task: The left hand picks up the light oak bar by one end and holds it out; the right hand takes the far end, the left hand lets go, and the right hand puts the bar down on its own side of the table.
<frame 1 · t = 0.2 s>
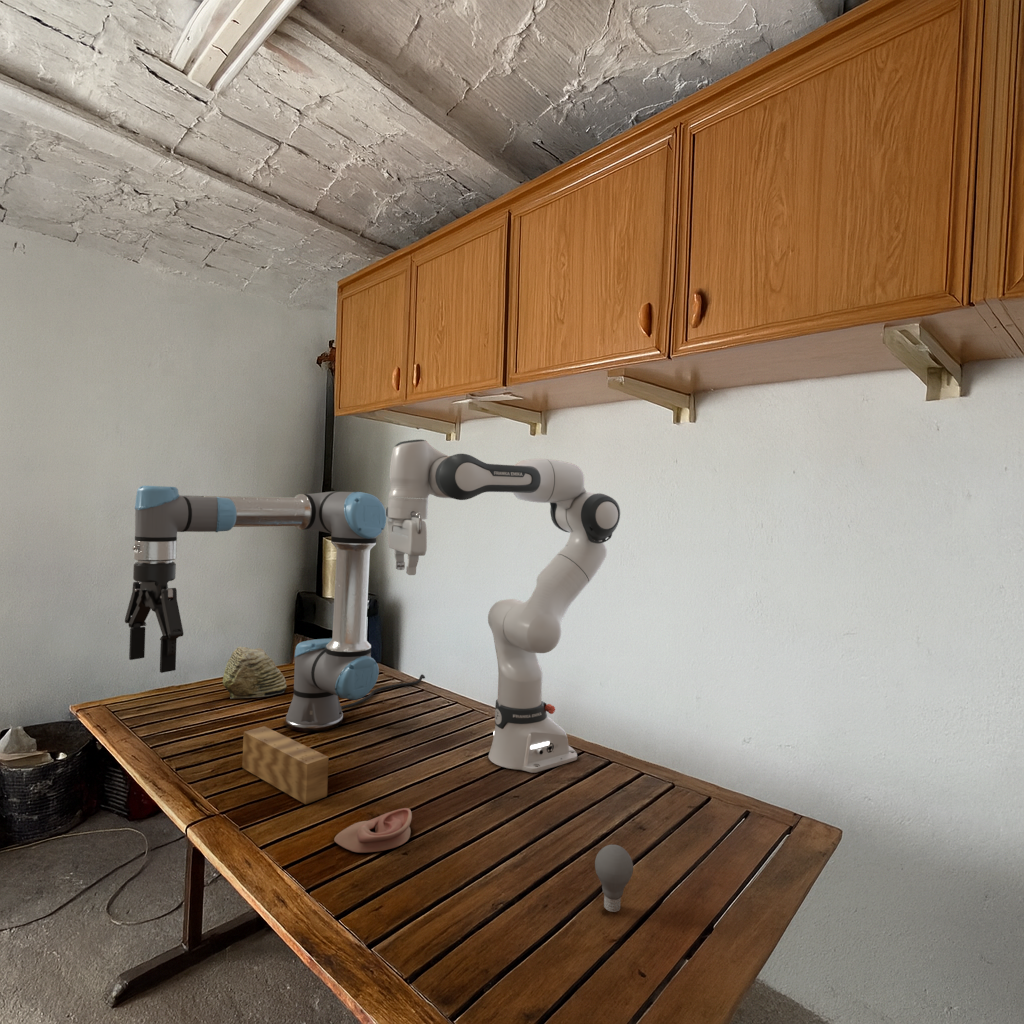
left hand: (151, 664, 130), 27 cm above the table, tool pointing down, fingers open, 13 cm apart
right hand: (405, 572, 143), 47 cm above the table, tool pointing down, fingers open, 8 cm apart
fossil: (254, 694, 198), on the table
anatomical model: (373, 838, 119), on the table
light bulb: (611, 910, 100), on the table
bar: (282, 781, 140), on the table
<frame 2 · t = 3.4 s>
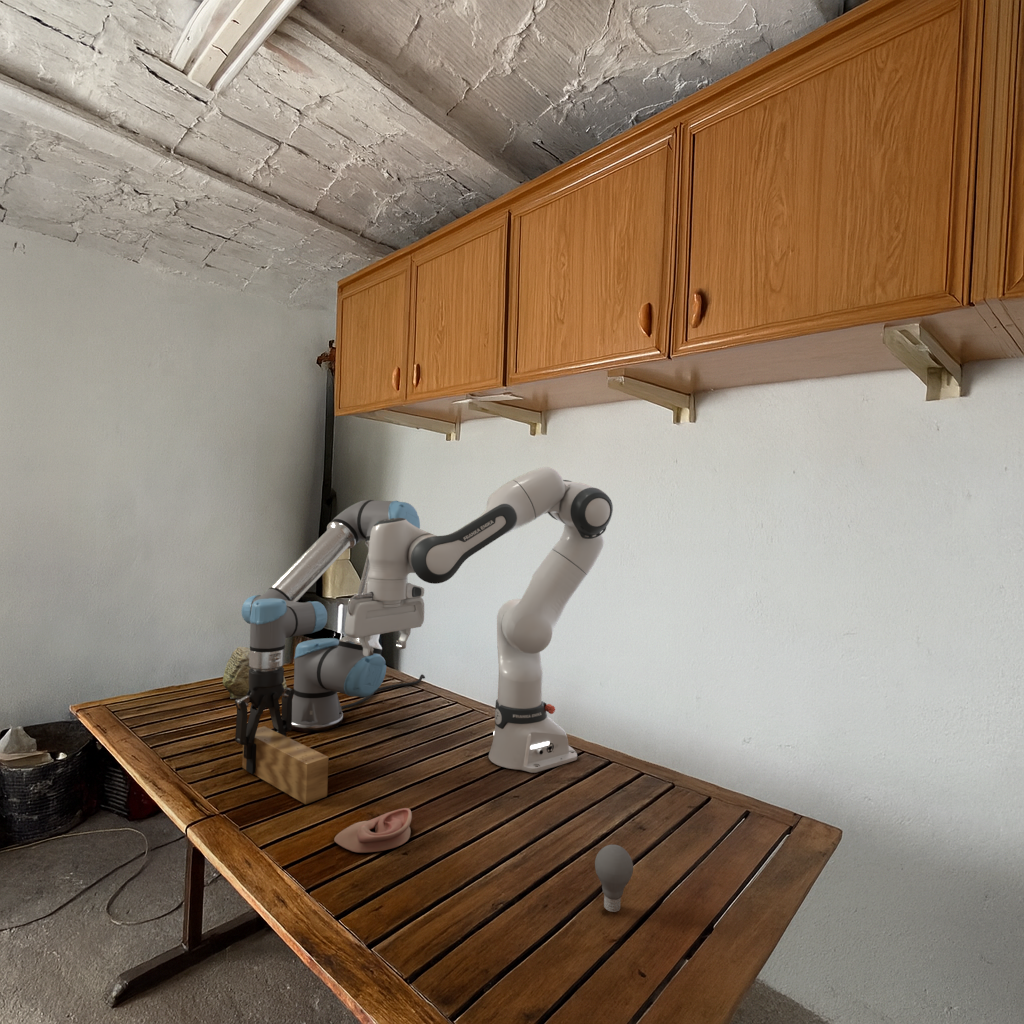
left hand: (262, 767, 145), 1 cm above the table, tool pointing down, fingers closed on bar, 5 cm apart
right hand: (384, 652, 142), 29 cm above the table, tool pointing down, fingers open, 8 cm apart
bar: (282, 781, 140), on the table, touching left hand
everything else where it was.
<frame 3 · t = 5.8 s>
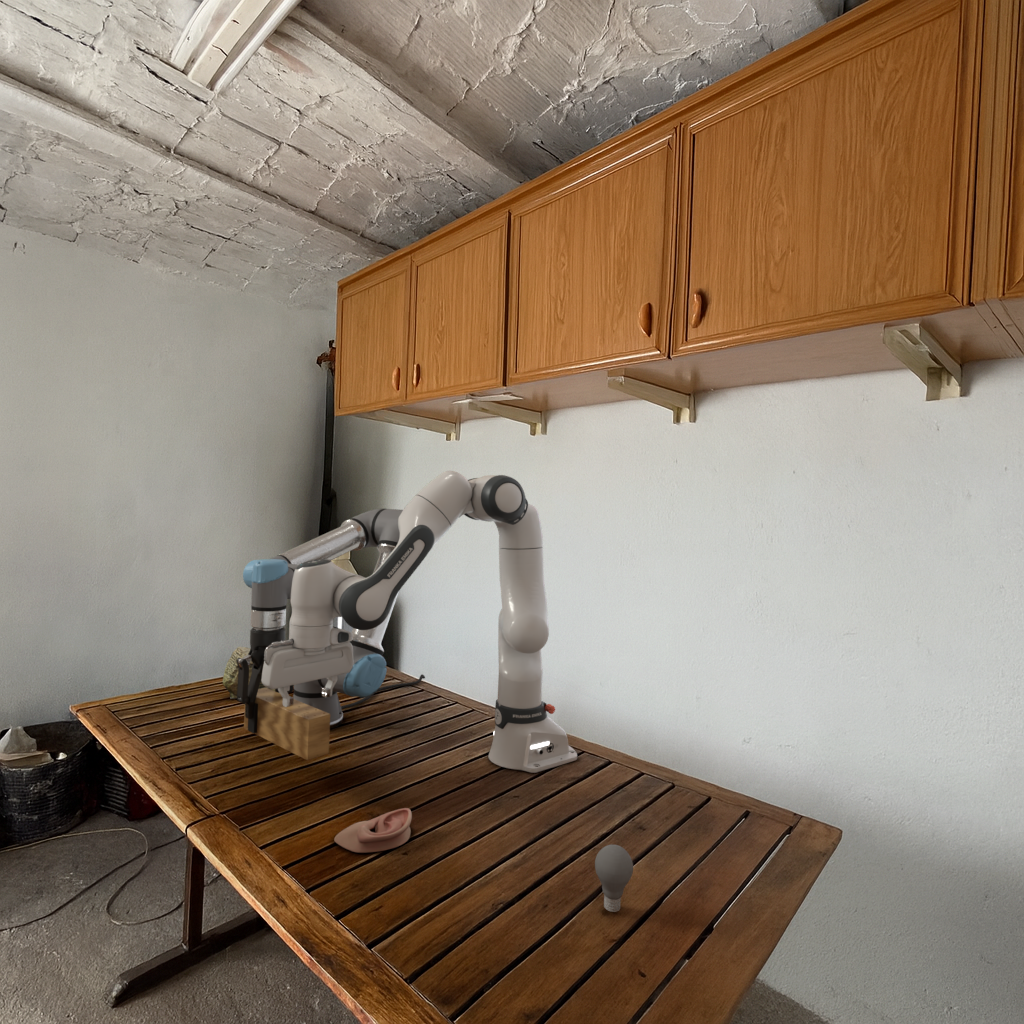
left hand: (264, 727, 145), 10 cm above the table, tool pointing down, fingers closed on bar, 5 cm apart
right hand: (307, 701, 134), 20 cm above the table, tool pointing down, fingers open, 8 cm apart
bar: (284, 740, 140), point 9 cm above the table, touching left hand
everything else where it was.
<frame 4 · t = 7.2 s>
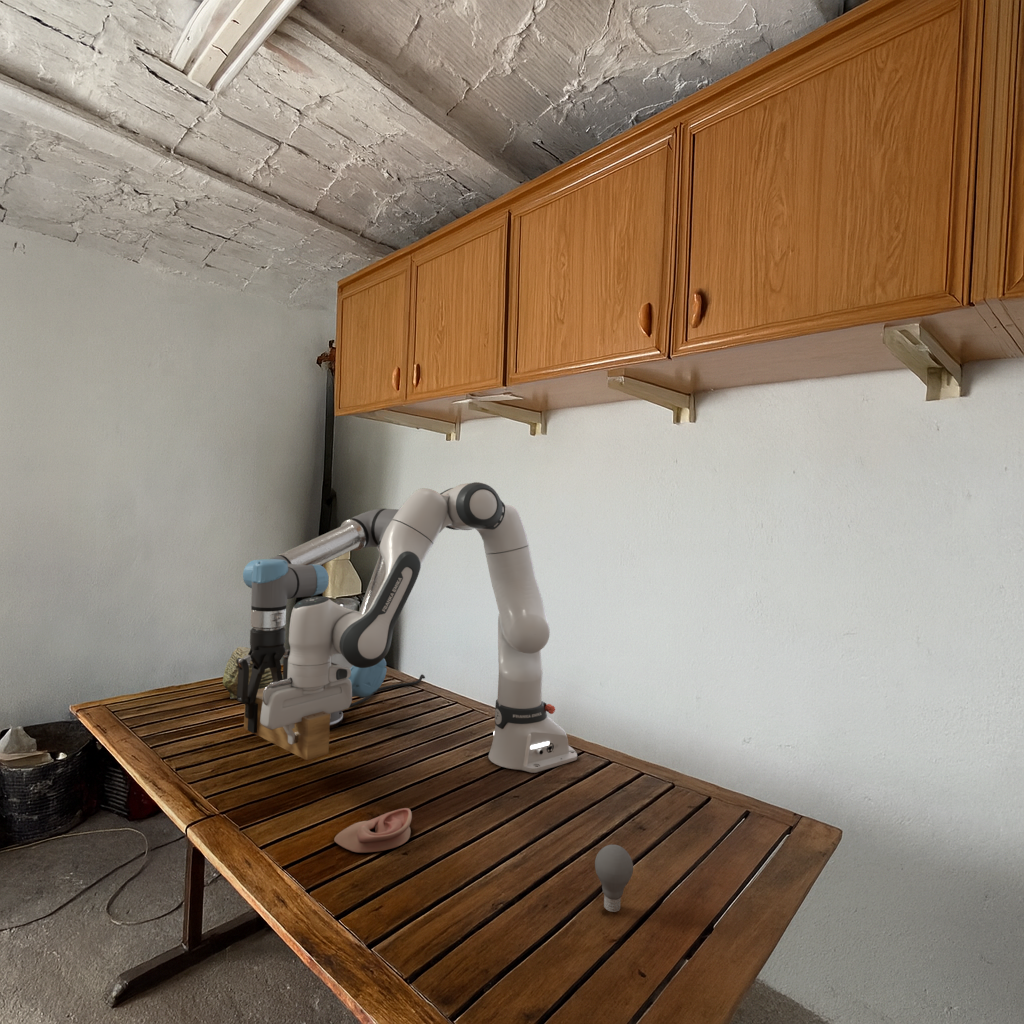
left hand: (264, 728, 145), 10 cm above the table, tool pointing down, fingers closed on bar, 5 cm apart
right hand: (306, 738, 135), 12 cm above the table, tool pointing down, fingers closed on bar, 5 cm apart
bar: (284, 740, 140), point 9 cm above the table, touching left hand, right hand
everything else where it was.
when the left hand's fingers open (10 cm above the table, at t = 8.2 s): bar stays where it is, held by the right hand.
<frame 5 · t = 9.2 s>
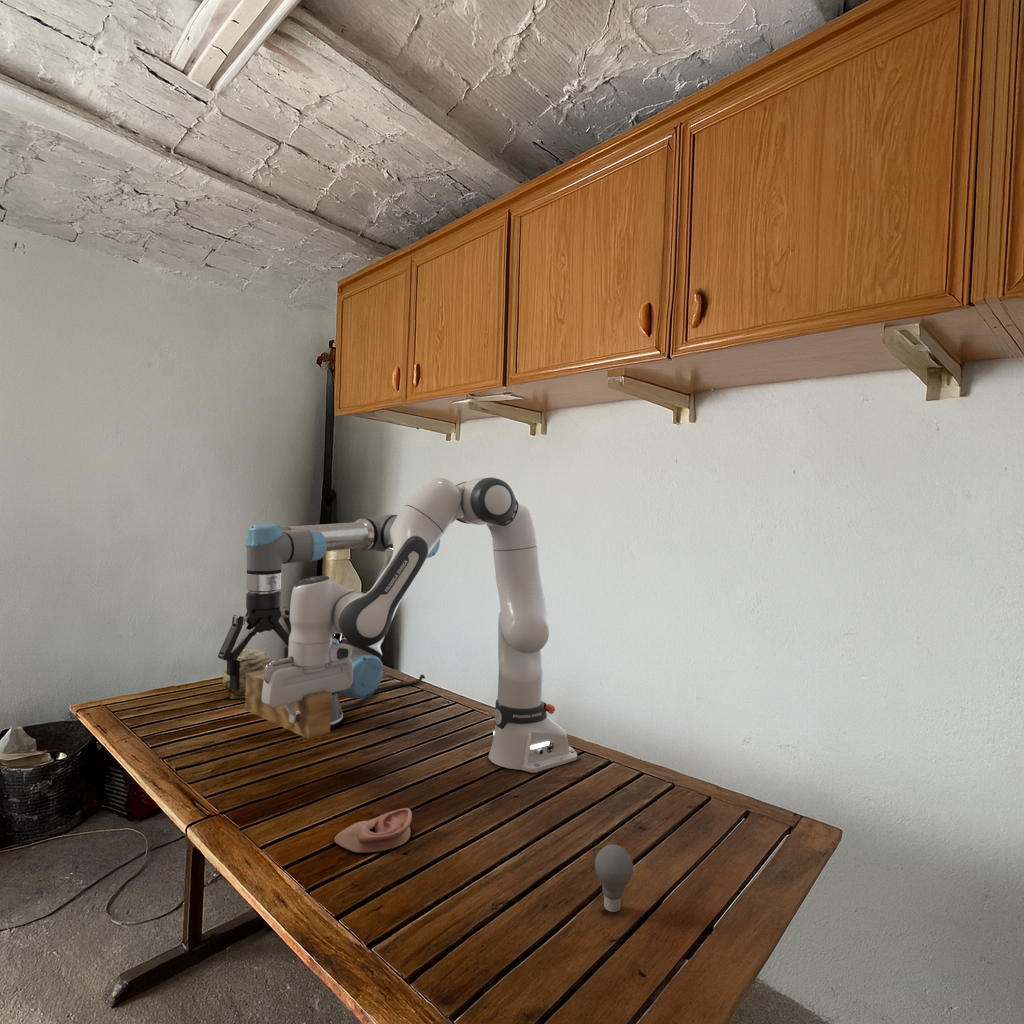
left hand: (262, 682, 147), 20 cm above the table, tool pointing down, fingers open, 13 cm apart
right hand: (308, 718, 135), 16 cm above the table, tool pointing down, fingers closed on bar, 5 cm apart
bar: (285, 720, 140), point 14 cm above the table, touching right hand
everything else where it was.
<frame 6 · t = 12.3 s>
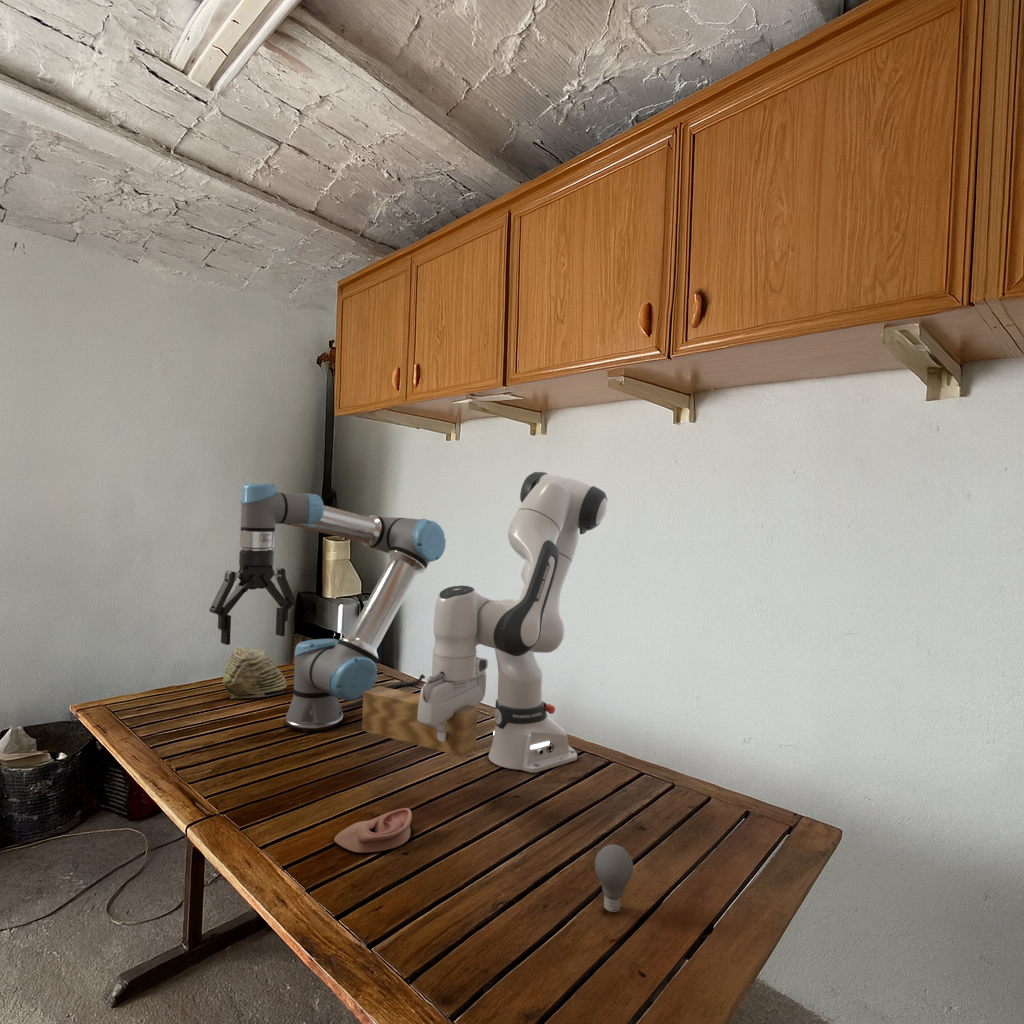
left hand: (253, 639, 148), 29 cm above the table, tool pointing down, fingers open, 13 cm apart
right hand: (452, 734, 128), 16 cm above the table, tool pointing down, fingers closed on bar, 5 cm apart
bar: (417, 739, 132), point 14 cm above the table, touching right hand
everything else where it was.
when the right hand's fingers open (4 cm above the table, at t = 17.3 s): bar drops 1 cm, on the table.
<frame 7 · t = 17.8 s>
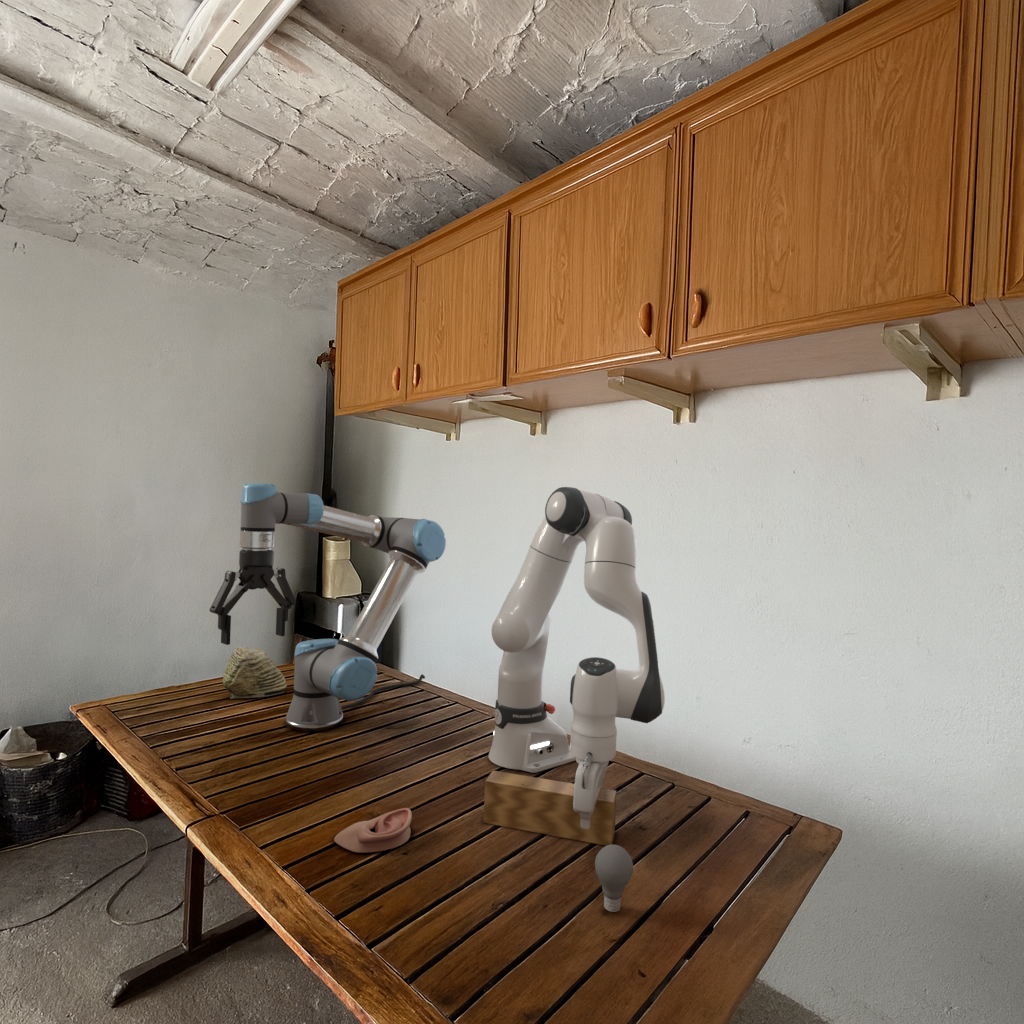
left hand: (253, 639, 148), 29 cm above the table, tool pointing down, fingers open, 13 cm apart
right hand: (589, 815, 123), 4 cm above the table, tool pointing down, fingers open, 8 cm apart
bar: (548, 827, 125), on the table
everything else where it was.
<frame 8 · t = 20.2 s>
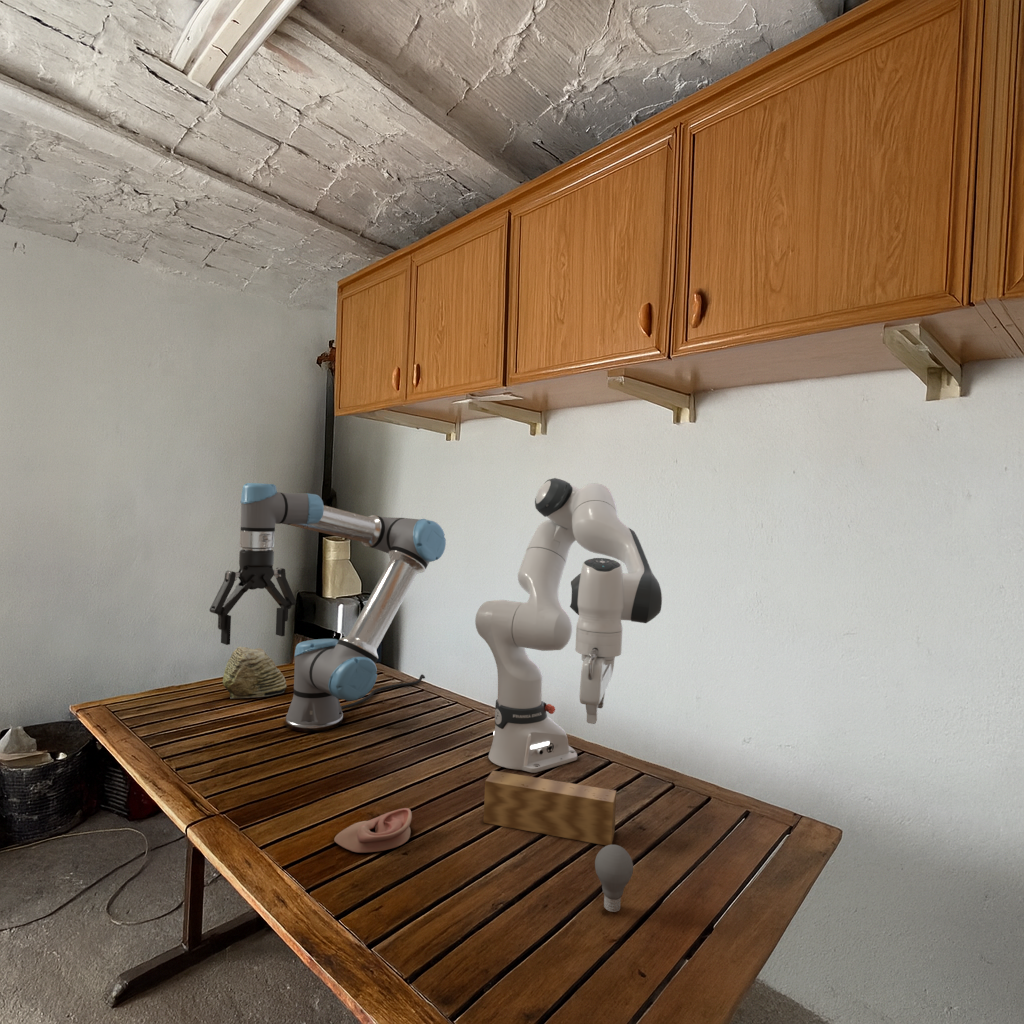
left hand: (253, 639, 148), 29 cm above the table, tool pointing down, fingers open, 13 cm apart
right hand: (595, 714, 122), 24 cm above the table, tool pointing down, fingers open, 8 cm apart
nothing on the table moved.
at the end: bar inside the target area (8.3 cm from its centre), on the table; the left hand is holding nothing; the right hand is holding nothing; bar at rest at the end (0.0 cm/s) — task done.
